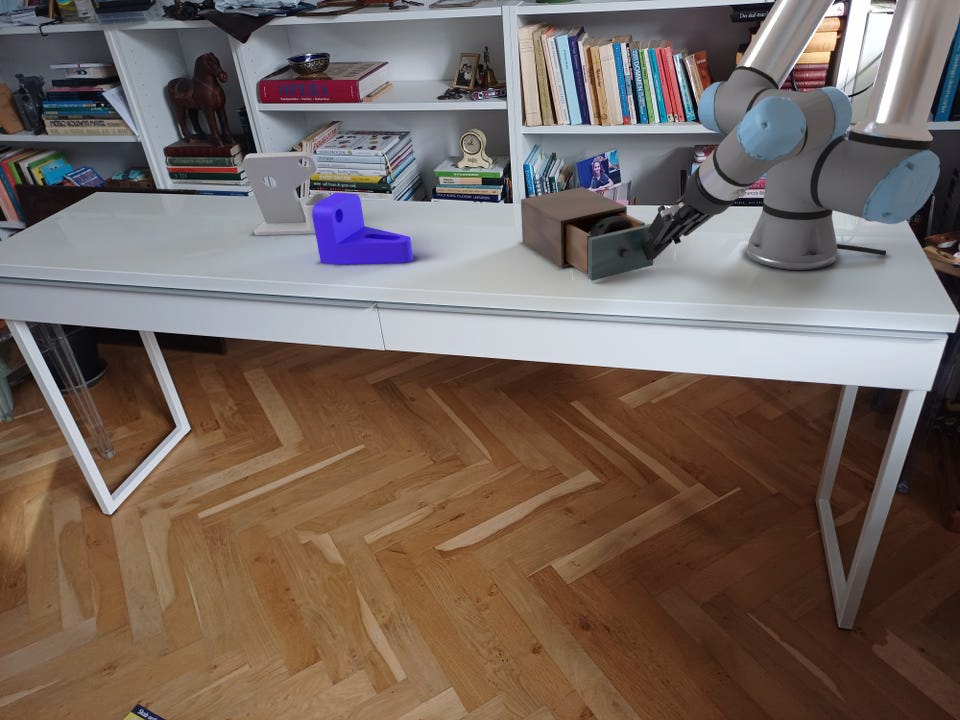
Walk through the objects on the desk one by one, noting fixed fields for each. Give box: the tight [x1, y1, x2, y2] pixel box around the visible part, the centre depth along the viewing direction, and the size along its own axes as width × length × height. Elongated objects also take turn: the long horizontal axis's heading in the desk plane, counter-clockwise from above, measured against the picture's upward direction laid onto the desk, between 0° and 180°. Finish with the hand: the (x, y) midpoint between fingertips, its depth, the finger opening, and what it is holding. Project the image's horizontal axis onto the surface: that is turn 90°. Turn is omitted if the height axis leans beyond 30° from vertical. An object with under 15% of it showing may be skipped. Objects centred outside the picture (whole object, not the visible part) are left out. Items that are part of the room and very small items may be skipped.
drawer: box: [563, 211, 654, 282], centre depth 136 cm, size 16×13×8 cm
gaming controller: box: [588, 216, 629, 237], centre depth 136 cm, size 10×5×6 cm
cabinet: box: [520, 186, 628, 269], centre depth 145 cm, size 16×14×9 cm
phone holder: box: [242, 150, 331, 236], centre depth 166 cm, size 17×10×18 cm, turn 84°
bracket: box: [312, 192, 414, 266], centre depth 148 cm, size 18×11×12 cm, turn 68°
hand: (648, 253), depth 131 cm, fingers closed
